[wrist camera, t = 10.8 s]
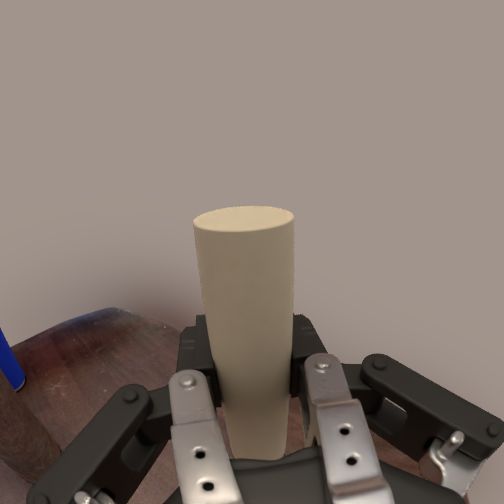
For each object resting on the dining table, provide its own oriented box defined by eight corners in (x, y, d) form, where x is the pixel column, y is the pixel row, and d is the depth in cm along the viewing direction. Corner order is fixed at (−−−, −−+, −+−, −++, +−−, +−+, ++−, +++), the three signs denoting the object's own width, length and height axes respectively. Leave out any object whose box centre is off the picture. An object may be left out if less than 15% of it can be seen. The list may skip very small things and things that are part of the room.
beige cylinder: (271, 430, 14) (267, 202, 10) (293, 464, 12) (314, 219, 7) (226, 445, 13) (185, 213, 9) (244, 482, 11) (207, 237, 6)
